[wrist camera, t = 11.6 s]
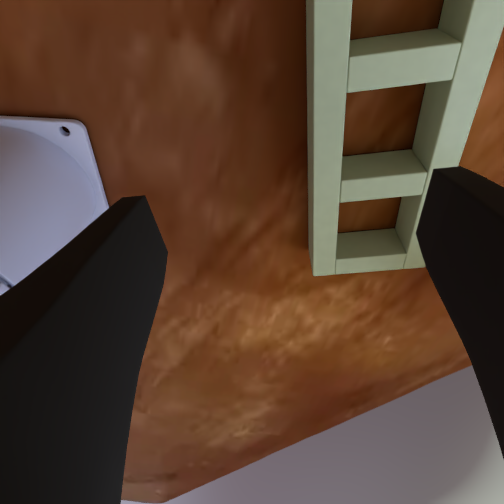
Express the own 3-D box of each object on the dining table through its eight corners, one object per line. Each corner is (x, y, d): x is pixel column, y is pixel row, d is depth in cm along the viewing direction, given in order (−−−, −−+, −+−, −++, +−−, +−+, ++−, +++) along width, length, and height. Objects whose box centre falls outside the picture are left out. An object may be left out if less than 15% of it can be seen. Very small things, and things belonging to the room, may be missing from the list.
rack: (308, 250, 24) (313, 276, 22) (304, -146, 12) (313, -159, 10) (412, 241, 24) (425, 267, 22) (527, -186, 11) (580, -208, 9)
